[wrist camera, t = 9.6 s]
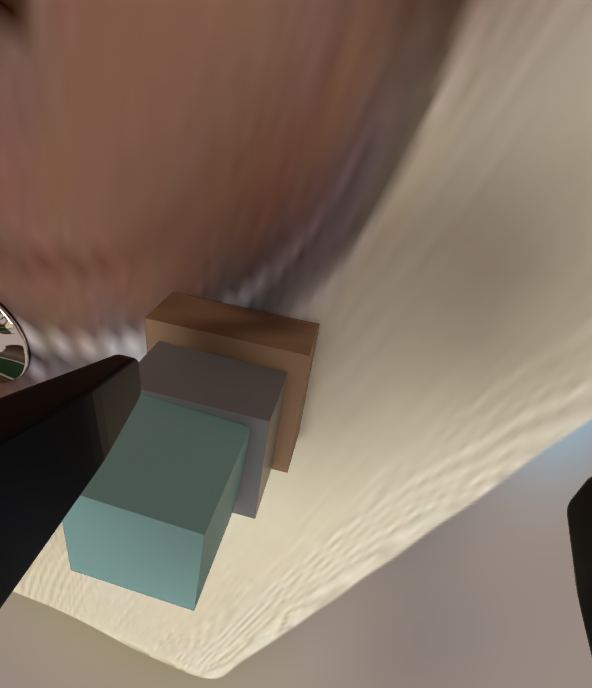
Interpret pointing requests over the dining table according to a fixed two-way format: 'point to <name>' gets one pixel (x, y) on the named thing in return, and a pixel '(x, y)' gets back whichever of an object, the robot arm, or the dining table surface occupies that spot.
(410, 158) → the dining table surface
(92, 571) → the teal cube
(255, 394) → the charcoal block
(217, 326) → the walnut slab
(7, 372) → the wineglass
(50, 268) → the dining table surface
